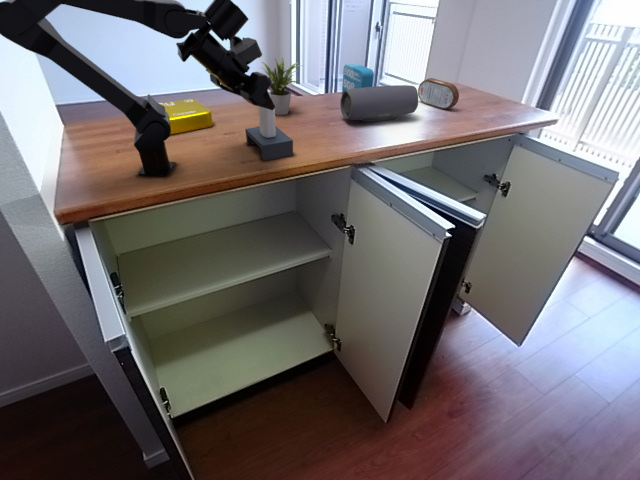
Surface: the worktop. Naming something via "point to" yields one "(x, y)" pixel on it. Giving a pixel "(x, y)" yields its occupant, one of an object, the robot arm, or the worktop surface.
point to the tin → (438, 93)
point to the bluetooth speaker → (378, 102)
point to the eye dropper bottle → (267, 121)
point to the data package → (357, 77)
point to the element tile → (187, 115)
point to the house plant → (280, 87)
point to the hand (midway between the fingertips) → (263, 103)
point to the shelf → (270, 143)
